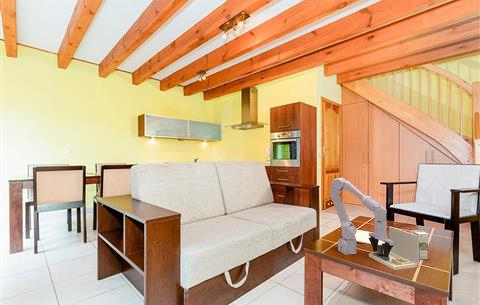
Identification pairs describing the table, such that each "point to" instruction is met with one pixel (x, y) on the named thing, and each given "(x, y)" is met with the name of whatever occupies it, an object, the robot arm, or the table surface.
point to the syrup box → (422, 244)
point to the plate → (364, 237)
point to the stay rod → (380, 250)
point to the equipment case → (400, 250)
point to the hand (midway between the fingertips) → (380, 253)
